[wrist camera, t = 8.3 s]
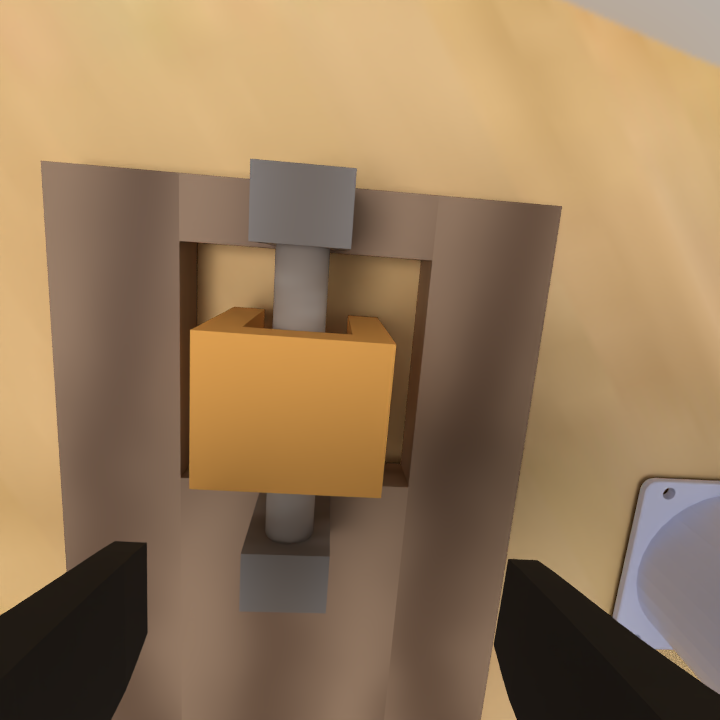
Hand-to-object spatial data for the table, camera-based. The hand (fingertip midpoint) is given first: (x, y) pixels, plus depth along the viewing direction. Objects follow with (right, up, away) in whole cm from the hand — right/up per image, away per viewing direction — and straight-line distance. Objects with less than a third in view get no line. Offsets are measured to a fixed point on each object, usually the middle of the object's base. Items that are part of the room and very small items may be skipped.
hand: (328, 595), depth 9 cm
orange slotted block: (-1, +4, +7) cm, 8 cm away
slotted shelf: (-2, -1, +10) cm, 10 cm away
